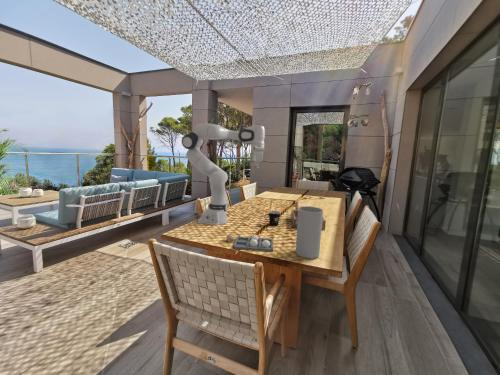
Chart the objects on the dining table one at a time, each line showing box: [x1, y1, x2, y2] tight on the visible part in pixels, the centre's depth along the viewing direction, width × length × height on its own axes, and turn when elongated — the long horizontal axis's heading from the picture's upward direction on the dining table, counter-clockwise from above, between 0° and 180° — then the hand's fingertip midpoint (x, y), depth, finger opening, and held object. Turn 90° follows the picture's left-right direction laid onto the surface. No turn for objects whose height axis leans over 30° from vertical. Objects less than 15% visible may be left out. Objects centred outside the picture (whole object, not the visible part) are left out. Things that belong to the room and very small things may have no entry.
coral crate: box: [290, 209, 327, 231], centre depth 173 cm, size 22×25×7 cm
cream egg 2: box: [250, 239, 258, 247], centre depth 126 cm, size 5×5×5 cm
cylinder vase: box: [295, 205, 324, 260], centre depth 119 cm, size 12×12×25 cm
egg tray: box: [232, 236, 274, 252], centre depth 129 cm, size 22×15×2 cm
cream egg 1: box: [251, 234, 259, 241], centre depth 132 cm, size 5×5×5 cm
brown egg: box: [225, 233, 235, 243], centre depth 133 cm, size 5×5×5 cm
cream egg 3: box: [262, 240, 270, 248], centre depth 125 cm, size 5×5×5 cm
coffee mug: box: [263, 210, 281, 227], centre depth 167 cm, size 12×9×10 cm
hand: (256, 168), depth 157 cm, fingers open, 8 cm apart
